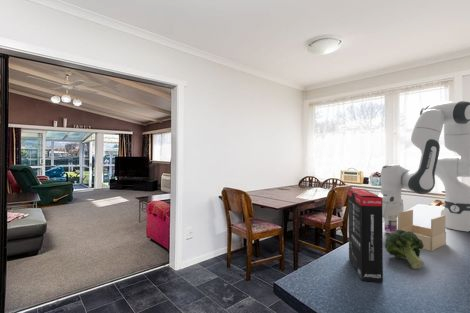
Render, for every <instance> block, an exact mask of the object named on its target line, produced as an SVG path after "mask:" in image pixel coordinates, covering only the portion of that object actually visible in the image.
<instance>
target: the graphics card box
mask: <svg viewBox="0 0 470 313" xmlns="http://www.w3.org/2000/svg"><path fill="white" fill-rule="evenodd" d="M347 196H348V200H347V201H348V259H349V261H350V262H351V264H352V267H353V268H354V269H355V272H356V274H357V275H358V278H360V280H361V281H363V282H365V281H366V282H374V283H384V271H383V270H384V266H383V262H384V261H383V260H384V257H383V256H384V255H383V252H384V250H383V249H384V248H383V246H384V245H383V243H384V242H383V241H384V240H383V236H384V235H383V234H384V233H383V231H384V228H383V225H384V224H383V223H384V219H383V217H382V197H380V196H378V194H376V193H373V192H371V191H369V190H367V189H365V188H348V192H347Z"/></svg>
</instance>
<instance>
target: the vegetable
mask: <svg viewBox="0 0 470 313" xmlns="http://www.w3.org/2000/svg"><path fill="white" fill-rule="evenodd" d="M384 247H385V249H386V252H387V253H389V255H390V256H394V257H395V258H397V259H400V258H402V259H404V260H407V261H408V263H409V264H410V268H411V269H413V270H419V269H422V268H423V266H424V261H422V260H421V259H420V258H421V257H420V255H421V250H423V249H422V248H423V247H424V245H423V242H422V240H420V239H419V238H418V237H417V236H416V235H415V234H414V233H413V232H411V231H408V232H406V231H404V230H401V229H400V230H397V231H396V232H392V233H389V235H388V236H387V237H386V238H385V243H384Z"/></svg>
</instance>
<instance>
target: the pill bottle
mask: <svg viewBox="0 0 470 313" xmlns="http://www.w3.org/2000/svg"><path fill="white" fill-rule="evenodd" d="M388 219H389V221H390V224H389V225H385V224H384V233H387V234H391V233H392V232H396V231H397V229H398V218H397V219H396V218H395V214H393V215H392V216H389V218H388Z"/></svg>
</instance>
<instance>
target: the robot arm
mask: <svg viewBox="0 0 470 313" xmlns="http://www.w3.org/2000/svg"><path fill="white" fill-rule="evenodd" d="M442 130H443V131H442ZM442 132H443V138H444V148H446V149H447V150H449V151H451V152H452V153H453V152H454V153H456V154H457V155H459V156H440V155H439V154H440V149H441V146H440V137H441V134H442ZM410 141H411V143H412V144H413V146H414V147H416V148H418V149H419V150H420V152H421V157H420V162H419V166H418V168H417V170H416V171H413V170H410V169H406V168H405V167H402V166H401V165H400V164H397V163H390V164H385V165H383V166H382V168H381V170H380V191H379V193H378V194H377V195H378V196H380V197H382V219H383V222H384V226H385V225H389V224H390V221H389V219H388V218H389V216H392V215H393V214H395V218H396V219H397V220H398V213H400V212H404V210H405V209H404V200H403V198H402V189H403V190H407V191H411V192H413V193H416V194H419V195H425V194H426V195H427V194H428V193H430V192H432V191H433V189H434V188H435V185H436V177H437V178H438V179H439V180H440V181H441V182H442V184H443V186H444V192H445V193H444V194H445V200H444V203H443V205H444V208H443V209H441V210H440V216H443V215H446V223H445V229H450V230H455V231H461V232H469V231H470V185H468V184H466V183H464V182H461V181H460V180H459V179H458V177H459V178H461V177H462V178H470V101H464V100H460V101H444V102H436V103H434V102H433V103H429V104H426V105H424V106H423V107H422V108H421V110H420V111H419V117H418V118H417V120H416V123H415V125H414V127H413V130H412V133H411V139H410Z"/></svg>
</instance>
